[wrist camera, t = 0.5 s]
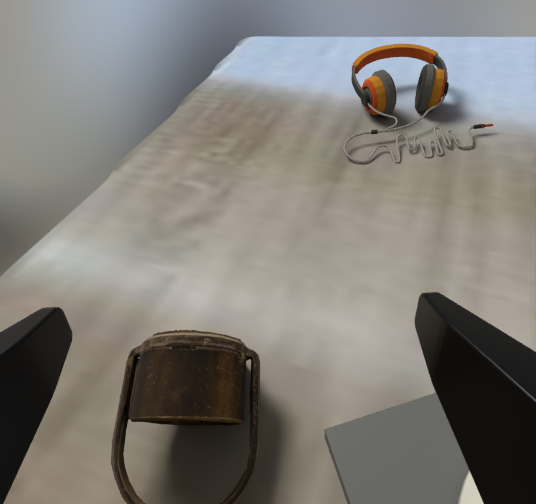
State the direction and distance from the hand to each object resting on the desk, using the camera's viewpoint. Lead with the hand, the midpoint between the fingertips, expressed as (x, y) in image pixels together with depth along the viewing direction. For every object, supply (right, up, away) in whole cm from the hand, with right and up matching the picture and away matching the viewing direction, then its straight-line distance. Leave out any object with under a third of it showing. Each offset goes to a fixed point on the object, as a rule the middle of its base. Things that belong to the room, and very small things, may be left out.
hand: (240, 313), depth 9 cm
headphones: (+17, +18, +37) cm, 45 cm away
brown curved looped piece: (-4, -11, +14) cm, 18 cm away
